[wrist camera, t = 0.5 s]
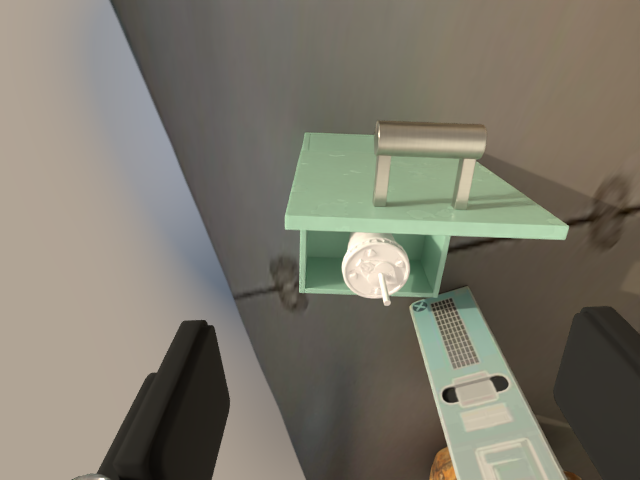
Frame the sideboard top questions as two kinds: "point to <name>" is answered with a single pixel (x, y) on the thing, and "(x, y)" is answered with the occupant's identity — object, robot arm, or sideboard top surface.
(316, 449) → the sideboard top surface
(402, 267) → the smoothie
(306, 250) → the mint green open crate
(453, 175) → the lid
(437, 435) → the sideboard top surface
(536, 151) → the sideboard top surface
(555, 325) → the sideboard top surface
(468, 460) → the device
